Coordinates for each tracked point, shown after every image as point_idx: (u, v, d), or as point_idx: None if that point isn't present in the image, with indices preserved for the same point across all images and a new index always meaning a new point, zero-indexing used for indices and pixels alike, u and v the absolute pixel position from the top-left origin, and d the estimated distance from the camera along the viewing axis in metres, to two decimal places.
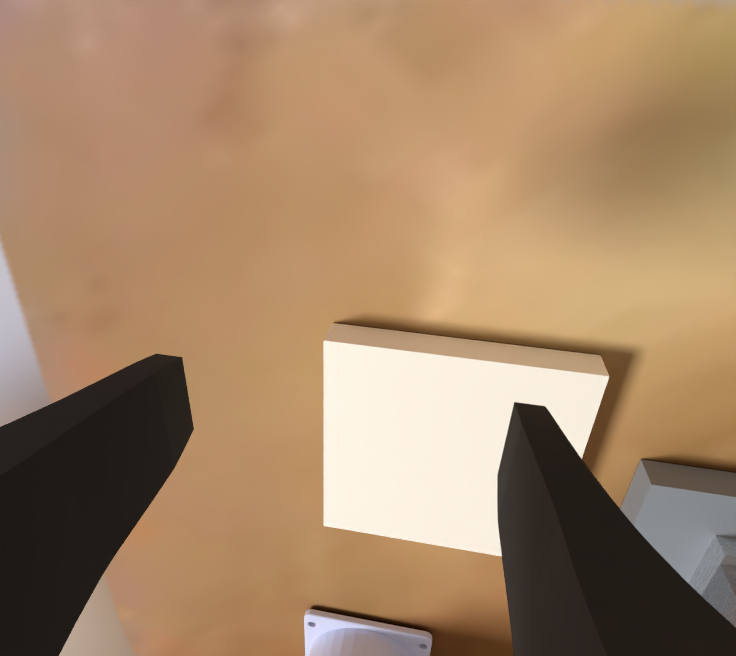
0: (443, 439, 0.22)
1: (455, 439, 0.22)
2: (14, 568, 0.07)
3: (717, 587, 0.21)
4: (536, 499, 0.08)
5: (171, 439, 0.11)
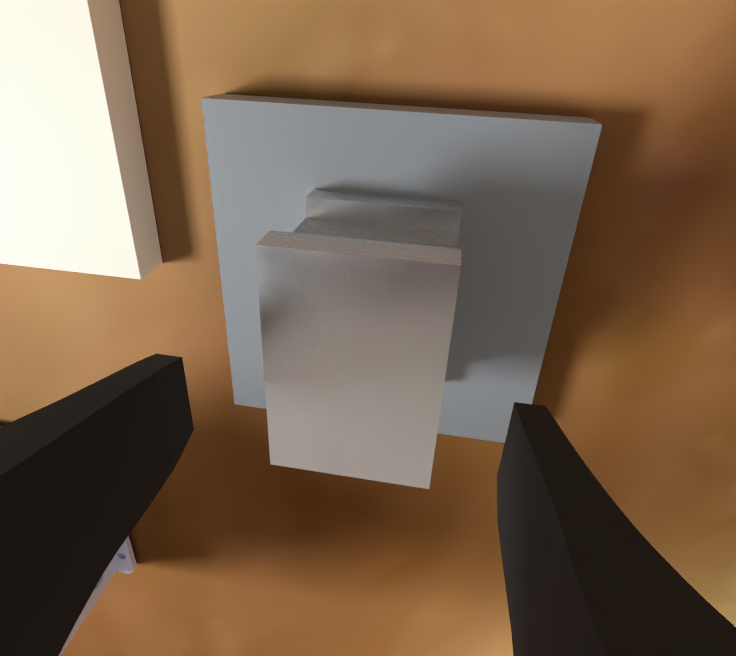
0: None
1: None
2: (14, 568, 0.07)
3: None
4: (536, 499, 0.08)
5: (171, 439, 0.11)
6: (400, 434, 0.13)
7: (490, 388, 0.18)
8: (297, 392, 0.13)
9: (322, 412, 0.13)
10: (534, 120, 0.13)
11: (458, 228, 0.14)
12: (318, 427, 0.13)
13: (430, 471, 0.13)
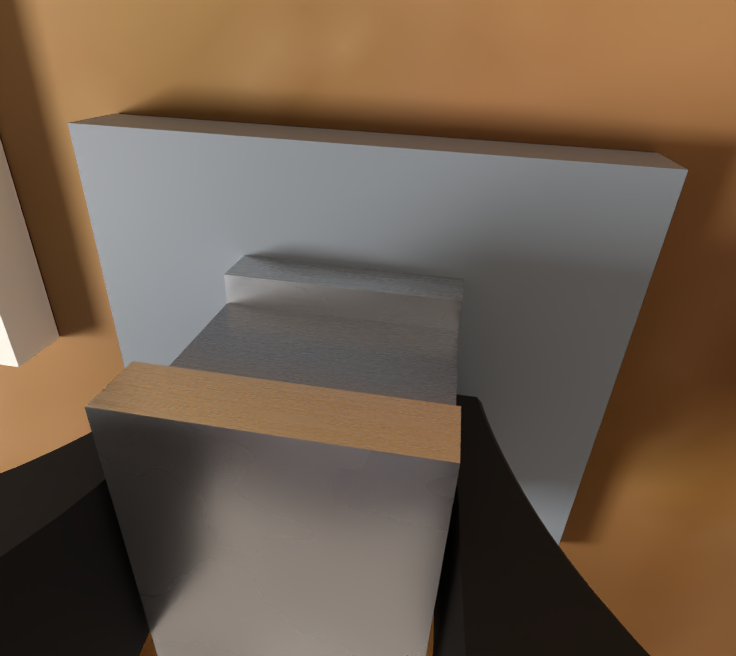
0: None
1: None
2: (99, 585, 0.07)
3: None
4: None
5: None
6: None
7: None
8: (192, 611, 0.08)
9: (235, 638, 0.08)
10: (577, 162, 0.08)
11: (457, 325, 0.09)
12: (232, 655, 0.08)
13: None
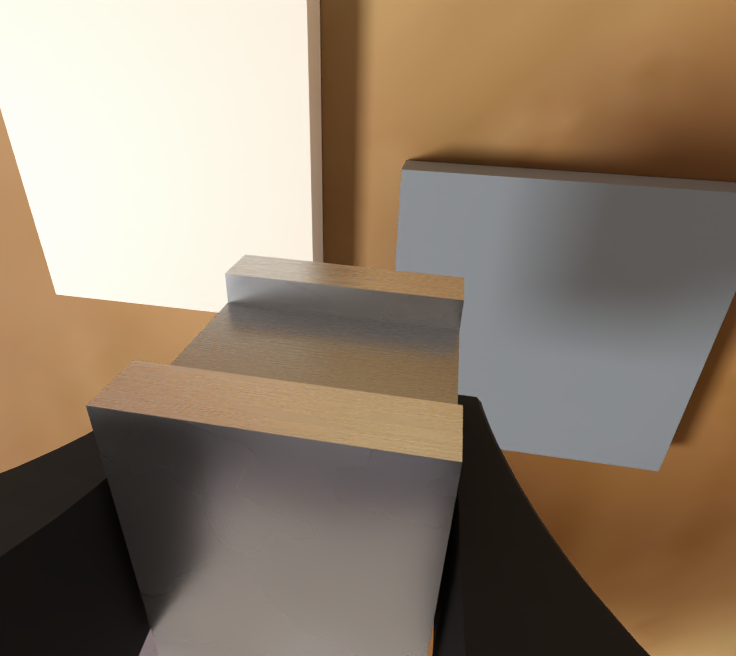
0: (143, 127, 0.17)
1: (157, 125, 0.17)
2: (99, 584, 0.07)
3: None
4: None
5: None
6: None
7: (635, 420, 0.19)
8: (193, 610, 0.08)
9: (236, 638, 0.08)
10: (713, 191, 0.15)
11: (458, 324, 0.09)
12: (233, 654, 0.08)
13: None
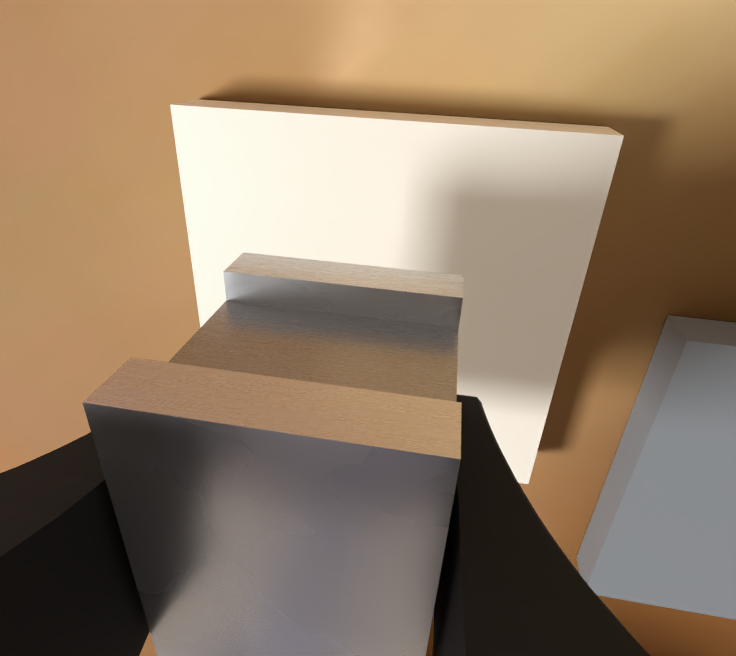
0: None
1: None
2: (99, 585, 0.07)
3: None
4: None
5: None
6: None
7: None
8: (191, 609, 0.08)
9: (234, 636, 0.08)
10: None
11: (457, 322, 0.09)
12: (231, 653, 0.08)
13: None
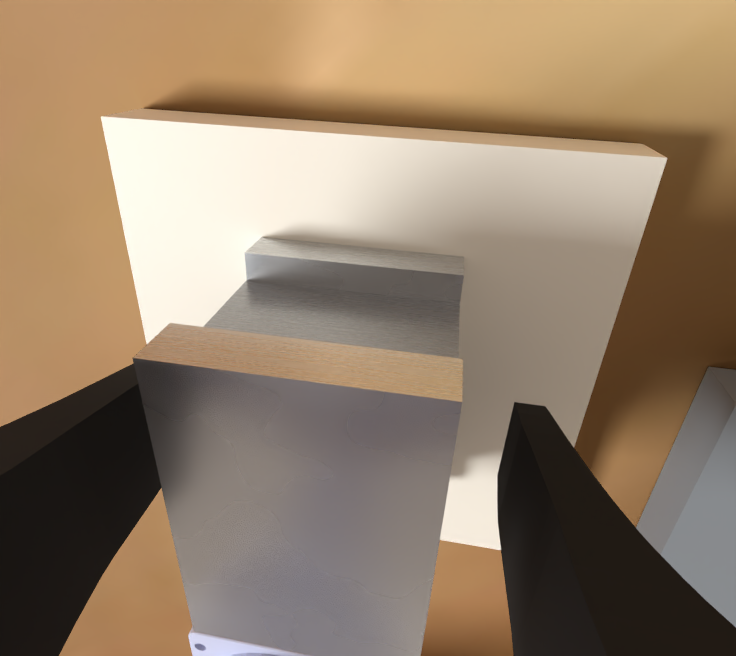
0: None
1: None
2: (14, 568, 0.07)
3: None
4: (536, 499, 0.08)
5: None
6: (373, 612, 0.09)
7: None
8: (220, 552, 0.09)
9: (259, 578, 0.09)
10: None
11: (458, 298, 0.10)
12: (255, 595, 0.09)
13: None
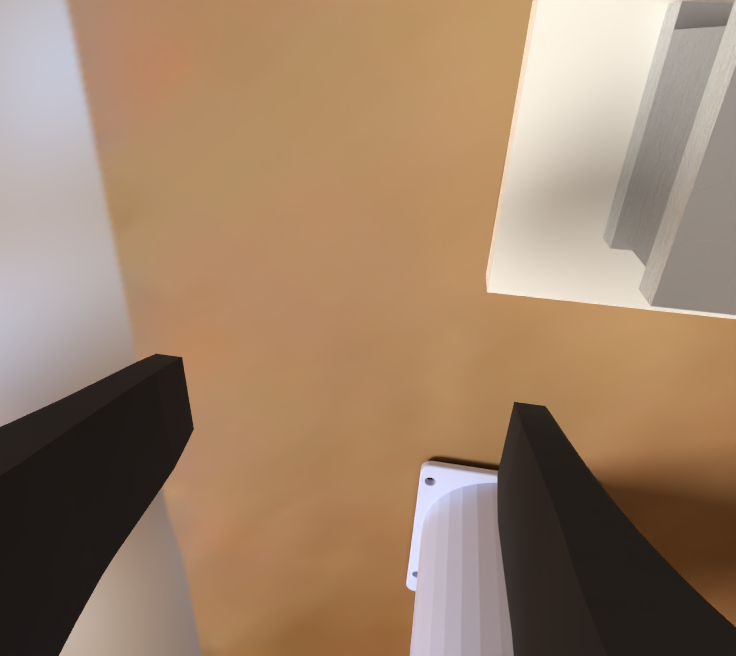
0: None
1: None
2: (14, 568, 0.07)
3: (669, 67, 0.13)
4: (536, 499, 0.08)
5: (171, 439, 0.11)
6: None
7: None
8: (731, 201, 0.11)
9: None
10: None
11: None
12: None
13: None
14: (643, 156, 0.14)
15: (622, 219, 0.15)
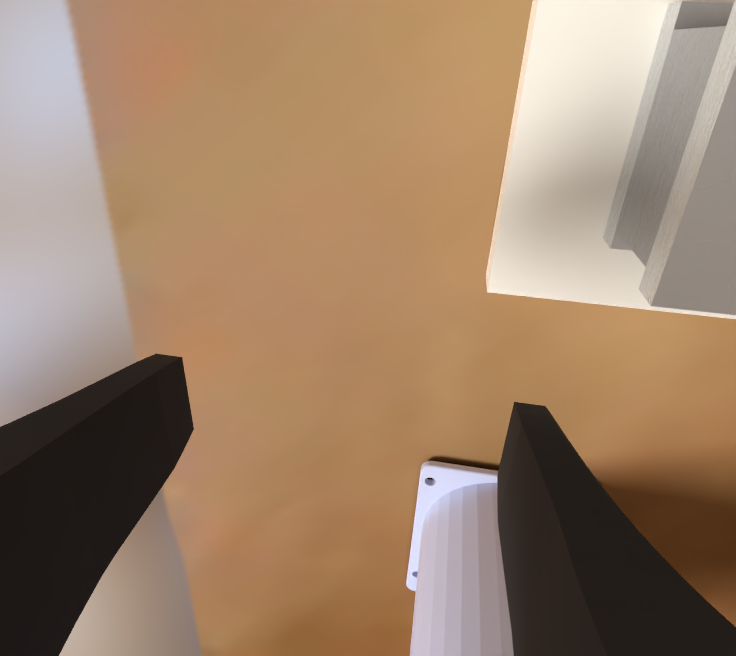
0: None
1: None
2: (14, 568, 0.07)
3: (669, 67, 0.13)
4: (536, 499, 0.08)
5: (171, 439, 0.11)
6: None
7: None
8: (731, 201, 0.11)
9: None
10: None
11: None
12: None
13: None
14: (643, 156, 0.14)
15: (622, 219, 0.15)
